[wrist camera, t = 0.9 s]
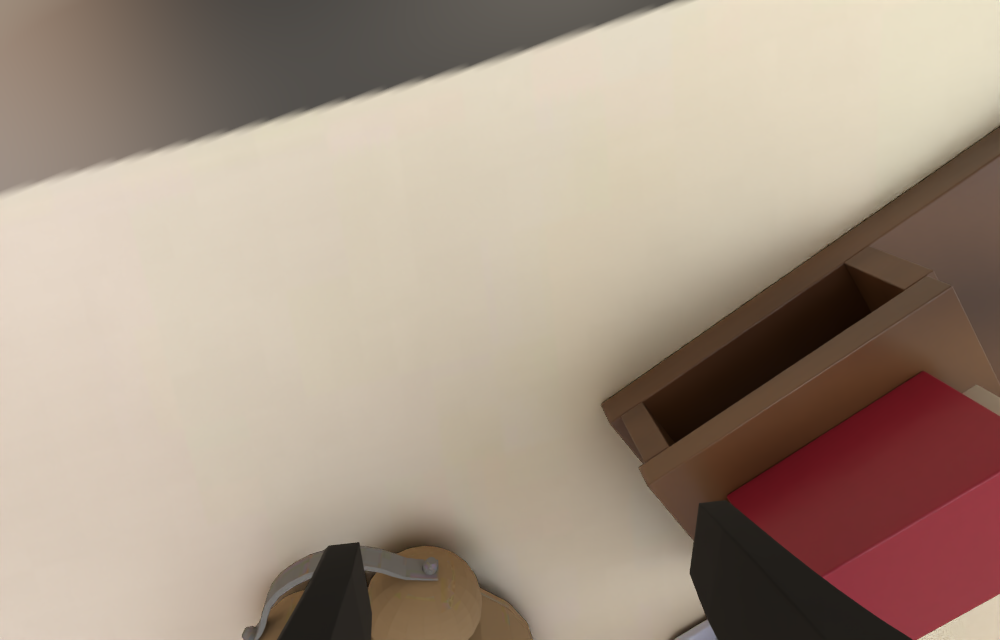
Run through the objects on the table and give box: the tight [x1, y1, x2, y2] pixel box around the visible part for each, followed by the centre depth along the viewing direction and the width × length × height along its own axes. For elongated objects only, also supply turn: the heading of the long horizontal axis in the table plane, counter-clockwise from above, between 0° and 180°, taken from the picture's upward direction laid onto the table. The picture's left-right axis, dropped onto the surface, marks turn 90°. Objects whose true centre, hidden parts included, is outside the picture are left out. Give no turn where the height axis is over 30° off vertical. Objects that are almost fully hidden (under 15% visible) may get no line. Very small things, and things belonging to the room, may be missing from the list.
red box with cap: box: [727, 371, 1000, 640], centre depth 17 cm, size 4×8×4 cm, turn 128°
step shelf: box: [601, 127, 1000, 541], centre depth 21 cm, size 10×21×6 cm, turn 128°
